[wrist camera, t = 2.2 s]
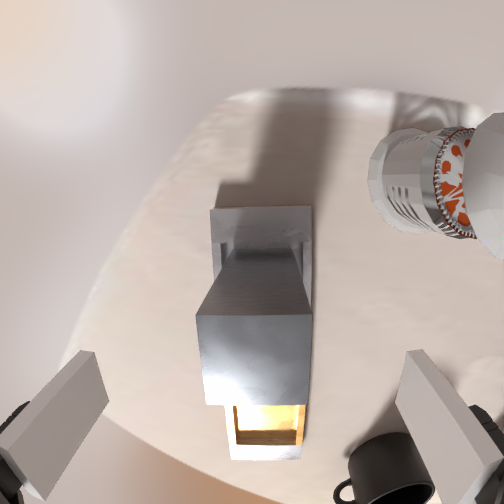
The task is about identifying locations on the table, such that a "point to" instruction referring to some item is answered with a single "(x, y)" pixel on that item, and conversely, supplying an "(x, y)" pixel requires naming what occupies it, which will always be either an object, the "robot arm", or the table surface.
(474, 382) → the table surface
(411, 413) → the robot arm
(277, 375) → the graphite post
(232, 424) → the rail
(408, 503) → the mug
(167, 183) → the table surface
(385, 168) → the french press
